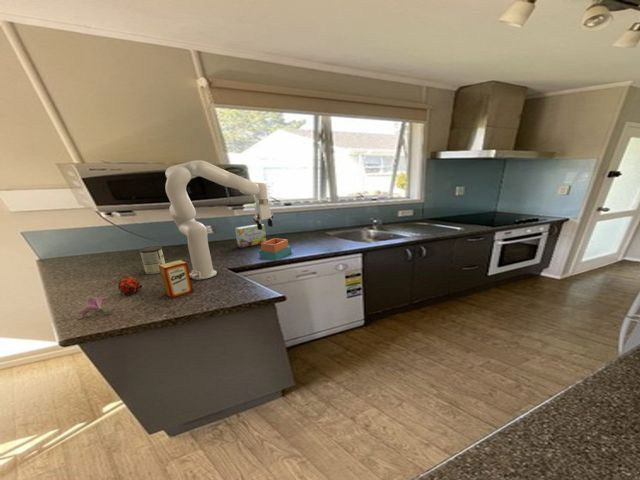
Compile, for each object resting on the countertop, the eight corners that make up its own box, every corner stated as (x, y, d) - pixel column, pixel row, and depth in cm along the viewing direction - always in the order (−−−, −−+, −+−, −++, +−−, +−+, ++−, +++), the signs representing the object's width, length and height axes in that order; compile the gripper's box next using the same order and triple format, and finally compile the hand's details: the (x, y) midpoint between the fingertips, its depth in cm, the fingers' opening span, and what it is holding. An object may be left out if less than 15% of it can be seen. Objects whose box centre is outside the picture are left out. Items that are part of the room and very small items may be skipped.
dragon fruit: (131, 290, 148) (137, 301, 141) (111, 286, 141) (116, 297, 134) (141, 276, 149) (146, 285, 142) (121, 271, 142) (126, 281, 135)
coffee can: (144, 270, 170) (137, 248, 166) (165, 266, 177) (159, 244, 173) (146, 275, 163) (140, 252, 159) (168, 271, 170) (162, 248, 166)
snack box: (241, 248, 215) (238, 228, 210) (237, 246, 218) (234, 227, 213) (266, 242, 231) (264, 224, 226) (263, 241, 234) (260, 223, 230)
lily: (118, 307, 131) (101, 291, 127) (124, 304, 123) (105, 287, 120) (88, 326, 122) (68, 309, 119) (92, 325, 115) (71, 307, 111)
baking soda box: (171, 298, 137) (163, 267, 132) (166, 294, 141) (158, 264, 136) (193, 291, 144) (186, 261, 139) (187, 288, 148) (180, 259, 143)
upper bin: (275, 259, 191) (274, 244, 188) (262, 257, 194) (260, 243, 191) (289, 253, 203) (287, 239, 200) (276, 251, 207) (274, 238, 204)
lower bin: (276, 260, 189) (275, 252, 188) (259, 258, 194) (258, 250, 192) (291, 253, 204) (290, 246, 202) (276, 251, 208) (275, 244, 207)
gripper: (266, 199, 191) (269, 224, 196) (246, 203, 175) (250, 230, 181) (275, 200, 188) (278, 225, 194) (256, 203, 173) (260, 231, 178)
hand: (265, 227), depth 187 cm, fingers open, 9 cm apart
